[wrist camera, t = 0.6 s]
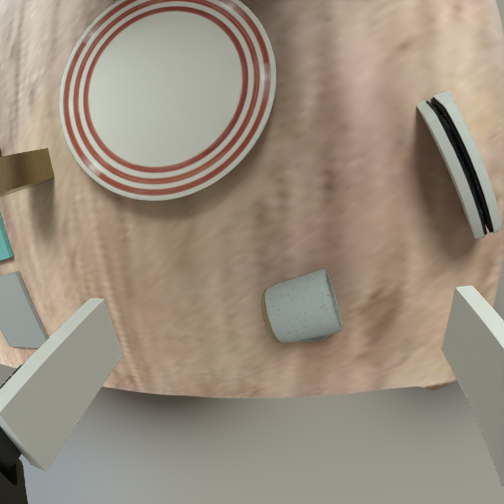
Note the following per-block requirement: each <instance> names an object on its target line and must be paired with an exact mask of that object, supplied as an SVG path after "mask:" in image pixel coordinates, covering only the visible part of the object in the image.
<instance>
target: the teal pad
mask: <svg viewBox="0 0 504 504" xmlns="http://www.w3.org/2000/svg"><path fill="white" fill-rule="evenodd" d="M12 256H14V255H13V252H12V249H11V246H10V243H9V240H8V237H7V234H6V231H5V228H4V224H3V221H2V217H1V214H0V260H4V259H7V258H10V257H12Z"/></svg>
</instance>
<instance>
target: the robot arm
mask: <svg viewBox="0 0 504 504" xmlns="http://www.w3.org/2000/svg"><path fill="white" fill-rule="evenodd" d="M441 349H442V351H443V353H444V355H445V357H446V359H447V361H448V363H449V365H450V367H451V369H452V371H453V372H454V374H455V376H456V378H457V380H458V383H459V385H460V386H461V388H462V391H463V393H464V395H465V397H466V399H467V401H468V403H469V406H470V408H471V410H472V412H473V414H474V417H475V419H476V421H477V423H478V426H479V428H480V430H481V433H482V435H483V437H484V440H485V442H486V445H487V447H488V450H489V452H490V455H491V458H492V460H493V463H494V465H495V468H496V471H497V474H498V476H499V479H500V482H501V485H502V486H504V321H503V320H502V319H501V317H500V316H499V315H498V314H497V313H496V312H495V310H494V309H493V308H492V307H491V306H490V305H489V304H488V302H487V301H486V300H485V299H484V298H483V297H482V296H481V295H480V294H479V293H478V291H477V290H476V289H475V288H474V287H473V286H463V287H455V291H454V296H453V301H452V306H451V311H450V316H449V320H448V324H447V329H446V333H445V337H444V340H443V344H442V348H441ZM123 355H124V354H123V351H122V348H121V346H120V343H119V340H118V338H117V335H116V332H115V329H114V326H113V323H112V320H111V317H110V314H109V311H108V308H107V305H106V302H105V299H95V298H90V299H89V300H88V301H87V302H86V303H84V304H83V305H82V306H81V307H80V308H79V309H78V310H77V311H76V312H75V313H74V314H73V315H72V316H71V317H70V318H69V319H68V320H67V321H66V322H65V323H64V324H63V325H62V326H61V327H60V328H59V329H58V330H57V331H56V332H55V333H54V334H53V335H52V336H51V337H50V338H49V339H48V340H47V341H46V342H45V343H44V344H43V345H42V346H41V347H40V348H39V349H38V350H37V351H36V352H35V353H34V354H33V355H32V356H31V357H30V358H29V359H28V360H27V361H26V362H25V363H23V364H22V365H20V366H19V367H18V369H17V370H16V371H15V372H14V373H13V374H12V376H10V377H9V378H8V379H7V380H6V383H4V384H3V385H2V386H1V387H0V504H28V501H27V495H26V488H25V479H24V470H23V465H22V462H21V461H20V460H19V457H20V455H21V454H23V456H24V457H25V458H26V459H27V460H28V461H29V462H30V464H32V465H33V466H36V467H37V468H40V469H42V470H44V471H47V470H48V469H49V467H50V466H51V464H52V462H53V460H54V459H55V457H56V456H57V454H58V453H59V451H60V450H61V448H62V446H63V445H64V443H65V442H66V440H67V438H68V437H69V435H70V434H71V432H72V431H73V429H74V428H75V426H76V424H77V423H78V421H79V420H80V418H81V417H82V415H83V413H84V412H85V411H86V409H87V407H88V406H89V405H90V403H91V402H92V400H93V399H94V397H95V396H96V394H97V393H98V391H99V390H100V388H101V387H102V385H103V384H104V382H105V381H106V379H107V378H108V376H109V375H110V374H111V372H112V371H113V369H114V368H115V366H116V365H117V363H118V362H119V360H120V359H121V358H122V356H123Z"/></svg>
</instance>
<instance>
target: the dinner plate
mask: <svg viewBox="0 0 504 504" xmlns="http://www.w3.org/2000/svg"><path fill="white" fill-rule="evenodd" d="M275 90H276V64H275V57H274V53H273V49H272V46H271V43H270V40H269V37H268V35H267V33H266V31H265V29H264V27H263V26H262V24H261V23H260V21H259V20H258V19H257V17H256V16H255V15H254V14H253V12H252V11H251V10H250V9H249V8H248V7H247V6H246V5H244V4H243V3H242V2H241V1H239V0H118V1H117V2H115V3H114V4H112V5H111V6H110V7H108V8H107V9H106V10H105V11H103V12H102V13H101V14H100V15H99V16H98V17H97V18H96V19H95V20H94V21H93V22H92V23H91V24H90V25H89V27H88V28H87V29H86V30H85V32H84V33H83V34H82V36H81V37H80V39H79V40H78V42H77V44H76V45H75V47H74V49H73V51H72V53H71V55H70V57H69V60H68V62H67V64H66V67H65V70H64V74H63V78H62V83H61V88H60V98H59V109H60V120H61V125H62V129H63V133H64V136H65V139H66V142H67V144H68V146H69V149H70V151H71V152H72V154H73V156H74V158H75V159H76V161H77V162H78V163H79V165H80V166H81V167H82V169H83V170H84V171H85V172H86V173H87V174H88V175H89V176H90V177H91V178H92V179H94V180H95V181H96V182H97V183H99V184H100V185H102V186H103V187H105V188H106V189H108V190H110V191H112V192H114V193H116V194H119V195H121V196H124V197H128V198H132V199H137V200H144V201H162V200H170V199H176V198H180V197H184V196H187V195H190V194H193V193H195V192H197V191H200V190H202V189H204V188H206V187H208V186H210V185H212V184H213V183H215V182H216V181H218V180H219V179H221V178H222V177H224V176H225V175H226V174H228V173H229V172H230V171H231V170H232V169H234V168H235V167H236V166H237V165H238V164H239V163H240V162H241V161H242V160H243V159H244V157H245V156H246V155H247V154H248V153H249V151H250V150H251V149H252V148H253V146H254V145H255V143H256V142H257V140H258V138H259V137H260V135H261V133H262V131H263V129H264V127H265V125H266V123H267V121H268V118H269V115H270V112H271V109H272V105H273V101H274V96H275Z"/></svg>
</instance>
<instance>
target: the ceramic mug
mask: <svg viewBox="0 0 504 504" xmlns="http://www.w3.org/2000/svg"><path fill="white" fill-rule="evenodd" d="M262 312H263V317H264V321H265V324H266V327H267V329H268V331H269V333H270V335H271V336H272V338H273V339H274V340H276V341H277V342H280V343H291V342H296V341H300V342H315V341H320V340H323V339H325V338H327V337H329V336H330V335H331V334H334V333H338V332H341V331H342V322H341V317H340V312H339V307H338V303H337V299H336V295H335V292H334V288H333V285H332V282H331V279H330V276H329V274H328V272H327V270H326V269H321V270H318V271H315V272H312V273H309V274H305V275H302V276H300V277H297V278H294V279H291V280H287V281H284V282H280V283H277V284H275V285H273V286H271V287H269V288H267V289H266V290H265V291H264V293H263V295H262Z"/></svg>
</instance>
